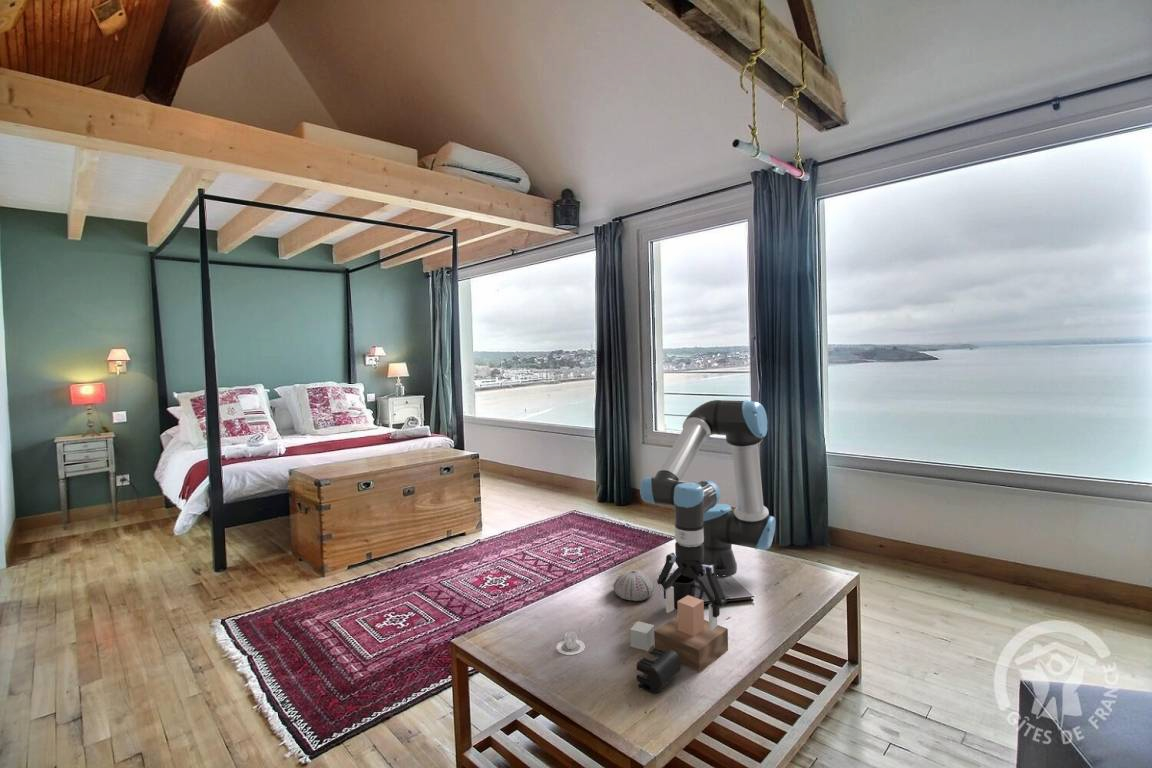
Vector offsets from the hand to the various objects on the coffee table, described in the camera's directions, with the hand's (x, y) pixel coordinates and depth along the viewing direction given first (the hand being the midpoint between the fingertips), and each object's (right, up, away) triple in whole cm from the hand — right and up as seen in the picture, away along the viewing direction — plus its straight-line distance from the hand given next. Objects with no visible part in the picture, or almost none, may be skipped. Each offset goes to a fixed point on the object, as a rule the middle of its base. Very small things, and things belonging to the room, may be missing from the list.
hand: (690, 619), depth 149 cm
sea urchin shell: (-12, -7, +35) cm, 38 cm away
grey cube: (-13, -9, +5) cm, 16 cm away
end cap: (-10, -11, -13) cm, 20 cm away
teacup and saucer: (-30, -10, +6) cm, 32 cm away
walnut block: (0, -9, +1) cm, 9 cm away
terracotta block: (0, -3, 0) cm, 3 cm away
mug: (+4, -7, +24) cm, 25 cm away
